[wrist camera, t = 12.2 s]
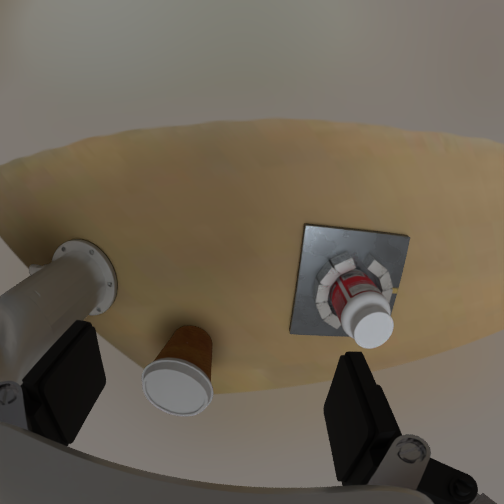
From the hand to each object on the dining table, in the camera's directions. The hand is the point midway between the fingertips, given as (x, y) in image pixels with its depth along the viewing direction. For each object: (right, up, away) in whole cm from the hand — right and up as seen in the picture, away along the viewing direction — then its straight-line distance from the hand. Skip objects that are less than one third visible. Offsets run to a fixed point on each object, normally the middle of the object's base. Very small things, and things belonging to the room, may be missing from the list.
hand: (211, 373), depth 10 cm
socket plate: (+15, 0, +31) cm, 35 cm away
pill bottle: (+15, -1, +30) cm, 34 cm away
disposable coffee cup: (-8, -10, +35) cm, 37 cm away
